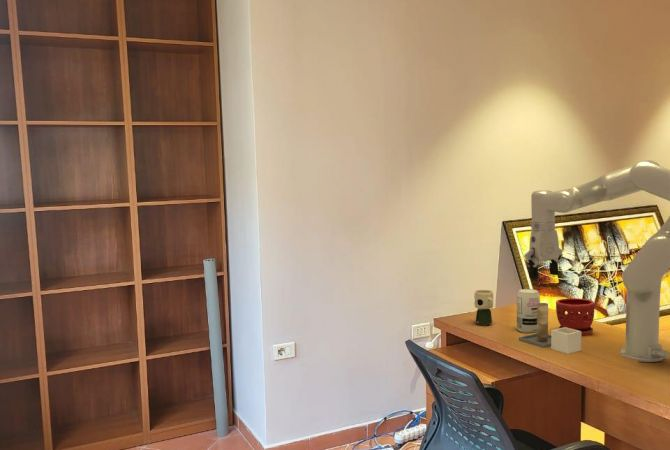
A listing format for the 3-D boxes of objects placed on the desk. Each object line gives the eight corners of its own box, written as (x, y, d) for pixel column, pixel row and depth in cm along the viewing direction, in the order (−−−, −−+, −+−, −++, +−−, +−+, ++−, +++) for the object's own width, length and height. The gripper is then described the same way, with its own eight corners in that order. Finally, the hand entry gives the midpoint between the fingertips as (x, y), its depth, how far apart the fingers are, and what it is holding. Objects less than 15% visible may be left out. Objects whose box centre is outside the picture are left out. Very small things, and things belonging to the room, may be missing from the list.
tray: (566, 344, 217) (566, 339, 217) (543, 349, 211) (543, 344, 211) (541, 336, 226) (541, 332, 226) (518, 341, 221) (518, 337, 221)
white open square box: (581, 352, 208) (581, 331, 207) (567, 355, 204) (567, 334, 204) (564, 347, 213) (565, 327, 213) (551, 350, 210) (551, 330, 209)
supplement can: (523, 326, 241) (523, 287, 239) (543, 330, 235) (543, 290, 233) (512, 330, 235) (512, 291, 233) (532, 334, 229) (533, 294, 228)
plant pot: (596, 330, 232) (597, 298, 231) (590, 339, 221) (591, 306, 220) (559, 326, 239) (559, 295, 238) (552, 335, 228) (552, 303, 226)
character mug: (468, 322, 249) (467, 289, 248) (483, 319, 252) (483, 287, 250) (484, 328, 239) (484, 295, 238) (500, 326, 241) (500, 293, 240)
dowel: (550, 341, 218) (550, 304, 217) (542, 342, 216) (543, 305, 215) (542, 338, 221) (542, 302, 220) (534, 340, 219) (534, 303, 218)
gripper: (533, 229, 207) (534, 281, 209) (569, 225, 216) (570, 274, 217) (516, 228, 214) (517, 278, 215) (552, 224, 222) (552, 272, 224)
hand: (544, 276), depth 216 cm, fingers open, 9 cm apart
